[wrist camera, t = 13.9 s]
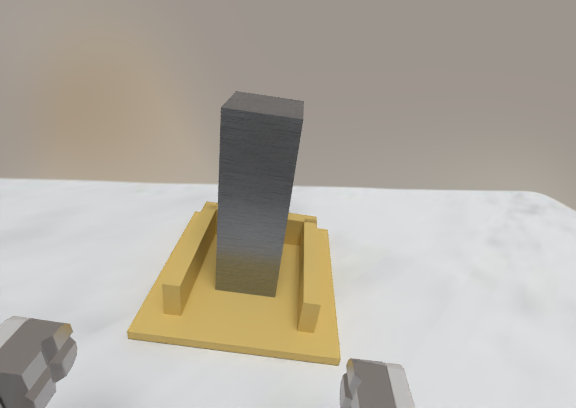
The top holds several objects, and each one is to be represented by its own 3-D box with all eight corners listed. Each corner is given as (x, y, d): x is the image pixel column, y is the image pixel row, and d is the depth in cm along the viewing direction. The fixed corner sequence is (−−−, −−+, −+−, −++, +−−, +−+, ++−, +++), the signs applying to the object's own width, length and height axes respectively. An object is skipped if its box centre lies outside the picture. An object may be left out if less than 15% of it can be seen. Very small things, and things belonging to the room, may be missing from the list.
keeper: (128, 338, 19) (106, 200, 14) (195, 217, 30) (194, 118, 25) (338, 365, 19) (381, 238, 14) (326, 235, 30) (348, 141, 26)
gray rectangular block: (215, 289, 22) (220, 107, 16) (227, 252, 25) (236, 91, 19) (275, 297, 22) (303, 119, 16) (279, 259, 25) (303, 101, 20)
